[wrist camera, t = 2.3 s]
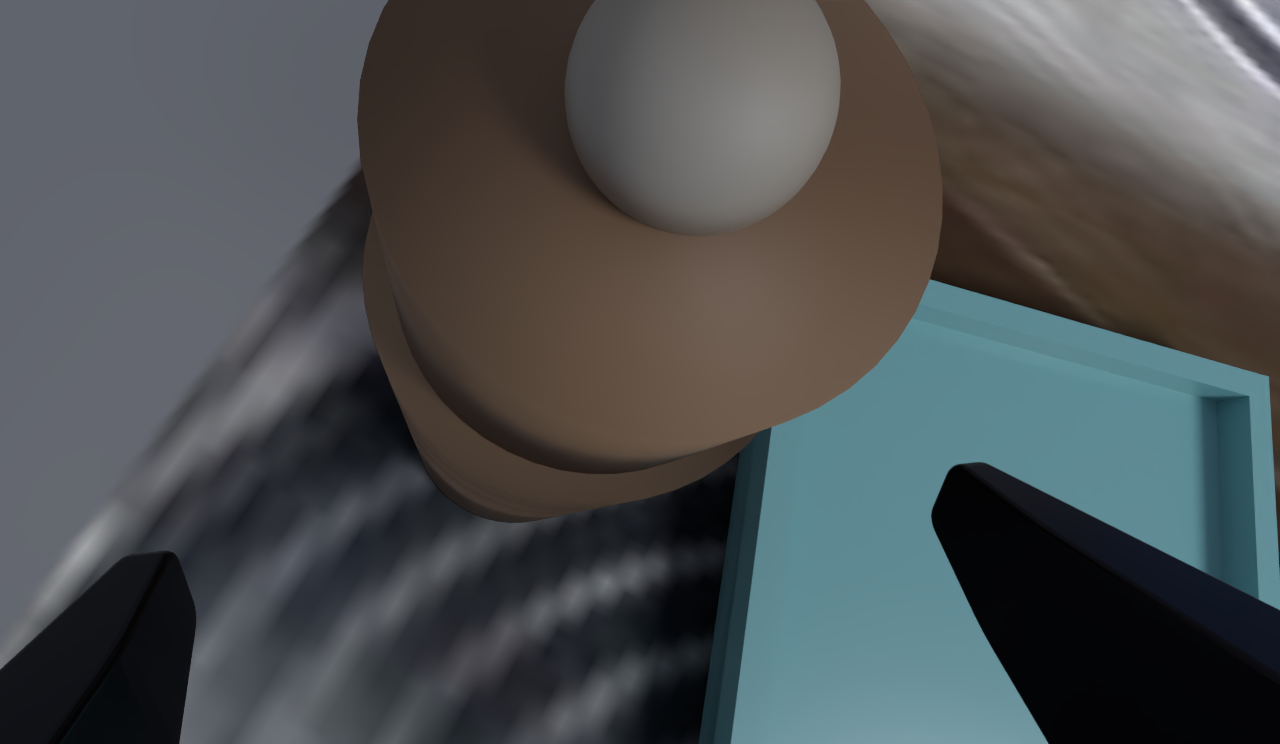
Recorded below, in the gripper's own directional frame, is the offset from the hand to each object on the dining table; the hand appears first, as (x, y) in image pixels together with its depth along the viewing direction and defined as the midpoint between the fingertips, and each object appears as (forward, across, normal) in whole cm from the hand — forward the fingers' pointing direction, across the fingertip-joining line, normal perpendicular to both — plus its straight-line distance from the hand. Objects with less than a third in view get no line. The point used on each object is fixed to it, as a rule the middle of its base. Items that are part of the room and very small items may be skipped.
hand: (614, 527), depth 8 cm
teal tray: (+4, -12, +10) cm, 17 cm away
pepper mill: (+9, 0, +5) cm, 11 cm away
